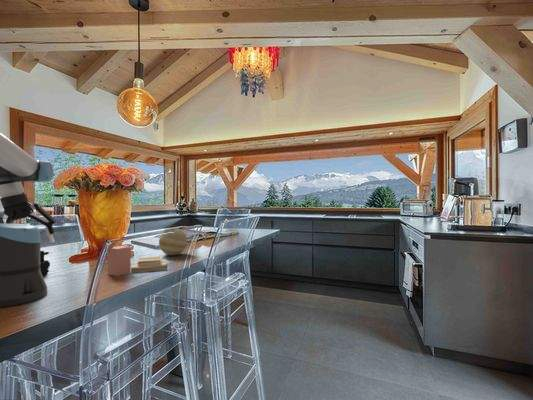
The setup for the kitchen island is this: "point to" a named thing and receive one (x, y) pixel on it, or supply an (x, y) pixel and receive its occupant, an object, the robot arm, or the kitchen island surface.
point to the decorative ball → (173, 242)
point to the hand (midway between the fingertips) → (32, 247)
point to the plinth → (147, 268)
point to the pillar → (119, 261)
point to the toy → (44, 263)
